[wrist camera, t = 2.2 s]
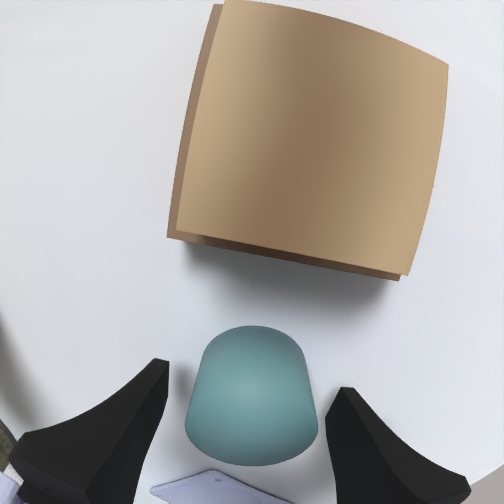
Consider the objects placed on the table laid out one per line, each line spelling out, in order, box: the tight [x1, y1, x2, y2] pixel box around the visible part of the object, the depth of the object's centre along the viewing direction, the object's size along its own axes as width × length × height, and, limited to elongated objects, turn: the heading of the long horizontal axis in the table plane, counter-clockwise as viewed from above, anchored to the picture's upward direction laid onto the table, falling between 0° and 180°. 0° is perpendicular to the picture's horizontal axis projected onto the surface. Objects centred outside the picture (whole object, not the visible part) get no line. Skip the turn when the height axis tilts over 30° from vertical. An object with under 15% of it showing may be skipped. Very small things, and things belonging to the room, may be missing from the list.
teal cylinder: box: [185, 326, 318, 466], centre depth 11 cm, size 5×5×4 cm
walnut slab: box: [167, 4, 401, 281], centre depth 9 cm, size 8×8×2 cm
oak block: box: [176, 0, 448, 276], centre depth 7 cm, size 6×6×2 cm
